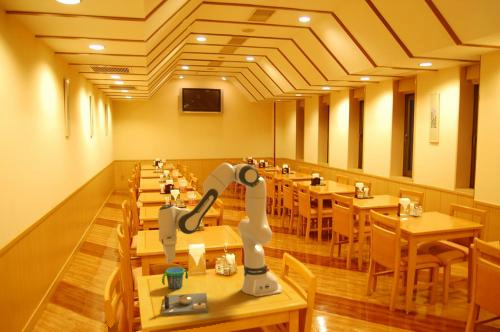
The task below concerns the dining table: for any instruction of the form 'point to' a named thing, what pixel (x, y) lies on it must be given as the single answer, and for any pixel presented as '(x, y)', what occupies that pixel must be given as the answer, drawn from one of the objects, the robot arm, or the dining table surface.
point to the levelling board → (196, 307)
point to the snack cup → (174, 277)
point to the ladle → (182, 299)
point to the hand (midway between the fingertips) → (169, 263)
